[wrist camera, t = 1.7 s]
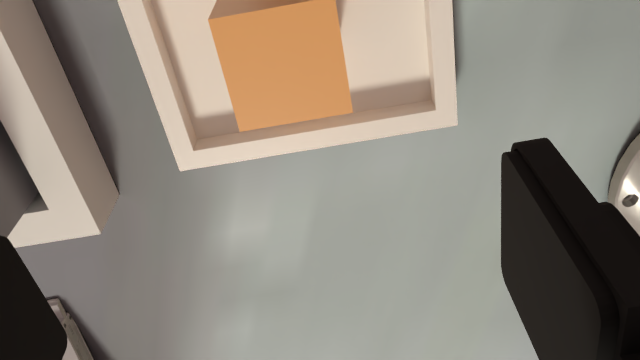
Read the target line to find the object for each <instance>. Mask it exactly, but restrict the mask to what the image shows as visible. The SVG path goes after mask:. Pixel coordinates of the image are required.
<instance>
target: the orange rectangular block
mask: <svg viewBox="0 0 640 360" xmlns="http://www.w3.org/2000/svg"><path fill="white" fill-rule="evenodd" d="M208 22H209V26H210V29H211V33H212V36H213V40H214V43H215V47H216V50H217V54H218V57H219V61H220V64H221V68H222V71H223V75H224V78H225V82H226V85H227V89H228V92H229V96H230V99H231V103H232V106H233V110H234V113H235V117H236V120H237V124H238V127H239V131H240V132H242V131H248V130H254V129H260V128H266V127H272V126H278V125H284V124H289V123H295V122H301V121H307V120H313V119H319V118H325V117H331V116H337V115H343V114H348V113H353V109H352V102H351V96H350V90H349V83H348V77H347V70H346V64H345V58H344V51H343V45H342V38H341V32H340V26H339V19H338V13H337V6H336V0H217V1H216V3H215V5H214V7H213V9H212V12H211V14H210V16H209V18H208Z"/></svg>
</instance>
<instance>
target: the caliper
mask: <svg viewBox="0 0 640 360" xmlns="http://www.w3.org/2000/svg"><path fill="white" fill-rule="evenodd" d="M47 302H48V303H49V305H50V306H51V308H52V310H53V311H54V313H55V315H56V316H57V318H58V319H59V321H60V323H61V324H62V326H63V328H64V329H65V331H66V334H67V348H66V351H65V354H64V356H63V360H94V358H93V356H92V354H91V352H90V350H89V348H88V346H87V344H86V342H85V339H84V337H83V335H82V333H81V331H80V329H79V328H78V326H77V325H76V323H75V322H74V320H73V319H72V317H71V316H70V314H69V313H68V312H67V313H66V312H65V310H64V308H63V305H62V303H61V302H60V300H59V299H58V298H56V299H51V300H47Z"/></svg>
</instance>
